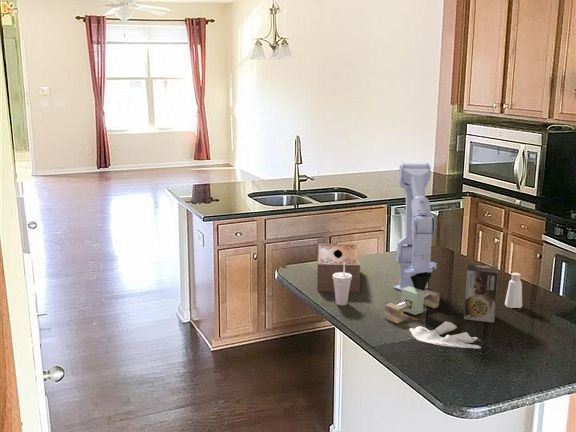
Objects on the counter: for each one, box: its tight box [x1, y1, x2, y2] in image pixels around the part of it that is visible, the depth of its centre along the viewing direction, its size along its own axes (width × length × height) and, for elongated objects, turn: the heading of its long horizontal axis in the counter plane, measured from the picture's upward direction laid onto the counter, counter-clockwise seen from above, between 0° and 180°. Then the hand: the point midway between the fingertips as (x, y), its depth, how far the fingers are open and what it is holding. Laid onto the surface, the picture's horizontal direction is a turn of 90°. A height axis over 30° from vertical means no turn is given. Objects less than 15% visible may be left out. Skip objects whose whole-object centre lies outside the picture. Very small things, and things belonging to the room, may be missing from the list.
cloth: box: [409, 320, 482, 349], centre depth 176 cm, size 20×22×2 cm
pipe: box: [389, 293, 431, 314], centre depth 192 cm, size 21×2×2 cm, turn 131°
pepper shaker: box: [504, 272, 523, 309], centre depth 197 cm, size 5×5×11 cm
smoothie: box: [332, 262, 352, 306], centre depth 198 cm, size 6×6×14 cm
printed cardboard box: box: [463, 263, 499, 324], centre depth 187 cm, size 9×6×16 cm
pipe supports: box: [384, 289, 440, 324], centre depth 192 cm, size 21×10×4 cm, turn 131°
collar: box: [400, 286, 424, 316], centre depth 191 cm, size 4×6×7 cm
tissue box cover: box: [316, 243, 361, 293], centre depth 222 cm, size 26×14×10 cm, turn 177°
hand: (419, 294), depth 193 cm, fingers closed
